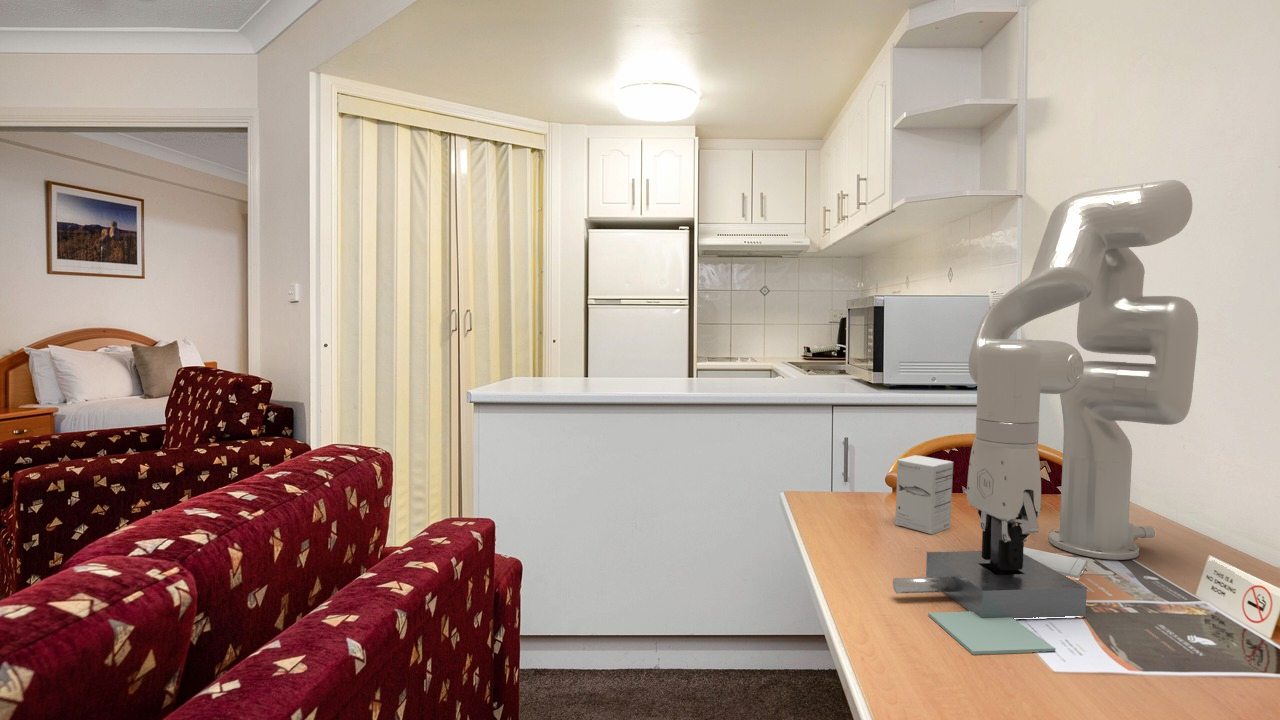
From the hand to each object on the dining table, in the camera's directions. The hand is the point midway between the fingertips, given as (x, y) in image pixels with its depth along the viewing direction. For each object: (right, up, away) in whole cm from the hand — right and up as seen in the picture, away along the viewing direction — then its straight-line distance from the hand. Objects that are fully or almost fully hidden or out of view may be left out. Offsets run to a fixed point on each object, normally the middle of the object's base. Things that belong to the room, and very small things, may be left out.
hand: (1001, 562), depth 91 cm
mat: (-7, -5, -10) cm, 14 cm away
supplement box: (+3, -3, +32) cm, 32 cm away
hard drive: (+13, -5, +13) cm, 19 cm away
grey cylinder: (0, -4, 0) cm, 4 cm away
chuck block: (-4, -5, 0) cm, 6 cm away
